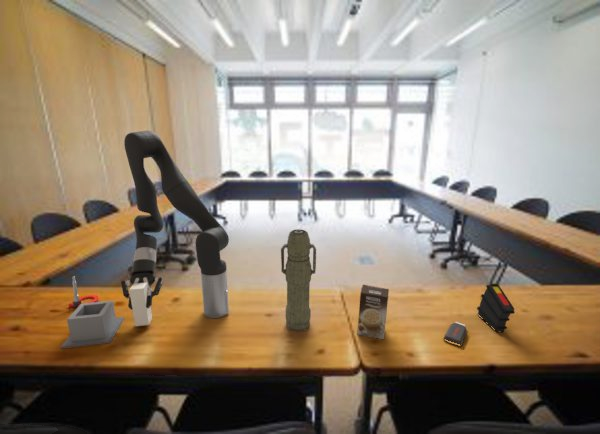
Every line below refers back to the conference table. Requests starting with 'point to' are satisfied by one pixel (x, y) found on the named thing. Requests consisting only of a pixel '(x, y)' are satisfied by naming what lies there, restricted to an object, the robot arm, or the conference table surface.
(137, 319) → the white square block
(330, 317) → the conference table surface
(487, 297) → the black ridged case
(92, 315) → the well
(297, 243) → the thermos
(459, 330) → the usb drive
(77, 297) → the tow hook
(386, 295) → the coffee box
